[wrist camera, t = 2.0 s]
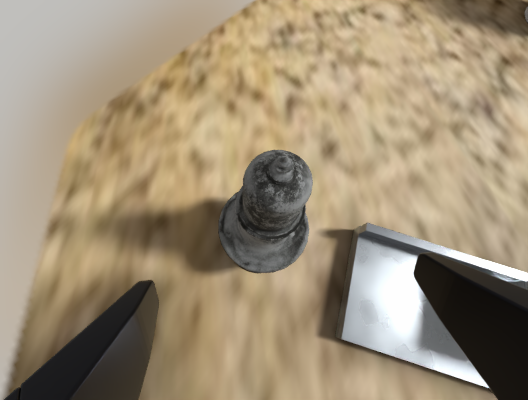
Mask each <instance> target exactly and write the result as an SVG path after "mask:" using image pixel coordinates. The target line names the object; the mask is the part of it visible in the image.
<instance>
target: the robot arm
mask: <svg viewBox="0 0 528 400" xmlns="http://www.w3.org/2000/svg"><path fill="white" fill-rule="evenodd" d="M413 274H414V278H415V280H416V282H417V283H418V285H419V287H420V288H421V290H422V291H423V293H424V295H425V296H426V298H427V300H428V301H429V303H430V305H431V306H432V308H433V310H434V311H435V313H436V315H437V316H438V318H439V319H440V321H441V322H442V324H443V325H444V326H445V328H446V329H447V330H448V332H449V333H450V335H451V336H452V337H453V339H454V340H455V341H456V343H457V344H458V346H459V347H460V348H461V350H462V351H463V352H464V354H465V355H466V357H467V358H468V359H469V361H470V362H471V363H472V365H473V366H474V367H475V369H476V370H477V372H478V373H479V374H480V376H481V377H482V378H483V380H484V381H485V383H486V384H487V385H488V387H489V388H490V389H491V391H492V392H493V394H494V395H495V396H496V398H497V399H498V400H528V290H527V289H524V288H522V287H519V286H517V285H514V284H512V283H509V282H506V281H504V280H501V279H499V278H496V277H494V276H491V275H489V274H486V273H484V272H481V271H479V270H476V269H473V268H471V267H468V266H466V265H463V264H461V263H458V262H456V261H453V260H451V259H448V258H445V257H443V256H440V255H438V254H435V253H432V252H428V253H421V254H419V255H418V257H417V261H416V264H415V268H414V271H413ZM158 307H159V300H158V296H157V292H156V287H155V284H154V282H153V281H152V280H146V281H139V282H138V283H136V284H135V285H134V286H133V287H132V288H131V289H129V290H128V291H127V292H126V293H125V294H124V295H123V296H121V297H120V298H119V299H118V300H117V301H116V302H115V303H113V304H112V305H111V306H110V307H109V308H108V309H107V310H105V311H104V312H103V313H102V314H101V315H100V316H99V317H98V318H96V319H95V320H94V321H93V322H92V323H91V324H90V325H88V326H87V327H86V328H85V329H84V330H83V331H82V332H80V333H79V334H78V335H77V336H76V337H75V338H74V339H72V340H71V341H70V342H69V343H68V344H67V345H66V346H65V347H63V348H62V349H61V350H60V351H59V352H58V353H57V354H55V355H54V356H53V357H52V358H51V359H50V360H49V361H47V362H46V363H45V364H44V365H43V366H42V367H41V368H39V369H38V370H37V371H36V372H35V373H34V374H33V375H32V376H30V377H29V378H28V379H27V380H26V381H25V382H24V383H22V385H21V388H17V389H15V390H14V391H13V392H12V393H11V394H10V395H9V396H7V397H6V398H5V399H4V400H138V399H139V395H140V392H141V388H142V385H143V381H144V377H145V374H146V370H147V367H148V363H149V359H150V354H151V349H152V343H153V337H154V331H155V325H156V319H157V313H158Z"/></svg>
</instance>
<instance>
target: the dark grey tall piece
mask: <svg viewBox="0 0 528 400" xmlns="http://www.w3.org/2000/svg"><path fill="white" fill-rule="evenodd" d="M312 184H313V180H312V174H311V171H310V169H309V167H308V165H307V164H306V163H305V162H304V160H302V159H301V158H300V157H299V156H297V155H295V154H293V153H291V152H288V151H284V150H271V151H267V152H264V153H262V154H260V155H258V156H257V157H256V158H255V159H253V160H252V161H251V163H250V164H249V166H248V167H247V169H246V171H245V174H244V178H243V186H242V187H241V189H240V191H239V192H237V193H235V194H234V195H233V196H232V197H231V198H230V199H229V200H228V201H227V203H226V205H225V206H224V208H223V209H222V212H221V215H220V219H219V236H220V240H221V244H222V246H223V248H224V250H225V251H226V253H227V255H228V256H229V257H230V258H231V259H232V260H233V261H234V262H235V263H236V264H238V265H239V266H240V267H242V268H243V269H245V270H247V271H250V272H254V273H270V272H275V271H278V270H282V269H285V268H286V267H288V266H289V265H290V264H292V263H293V262H295V261H296V260H297V258H298V257H299V256H300V255H301V254H302V252H303V250H304V248H305V246H306V244H307V241H308V234H309V225H308V218H307V216H306V213H305V210H306V206H305V204H306V202H307V201H308V199H309V197H310V195H311V191H312Z"/></svg>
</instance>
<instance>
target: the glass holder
mask: <svg viewBox="0 0 528 400" xmlns="http://www.w3.org/2000/svg"><path fill="white" fill-rule="evenodd" d="M525 18H526V21H527V22H528V7H527V8H526V10H525Z"/></svg>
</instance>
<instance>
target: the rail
mask: <svg viewBox="0 0 528 400" xmlns="http://www.w3.org/2000/svg"><path fill="white" fill-rule="evenodd" d="M428 252H432V253H435V254H438V255H440V256H443V257H445V258H448V259H451V260H453V261H456V262H458V263H461V264H463V265H466V266H468V267H471V268H473V269H476V270H479V271H481V272H484V273H486V274H489V275H491V276H494V277H496V278H499V279H501V280H504V281H506V282H509V283H512V284H514V285H517V286H519V287H522V288H524V289H527V290H528V273H525V272H522V271H519V270H516V269H512V268H509V267H506V266H503V265H500V264H497V263H493V262H490V261H487V260H484V259H481V258H478V257H474V256H471V255H468V254H465V253H462V252H459V251H455V250H452V249H449V248H446V247H443V246H440V245H436V244H433V243H430V242H427V241H424V240H421V239H417V238H414V237H411V236H408V235H405V234H402V233H398V232H395V231H392V230H389V229H386V228H383V227H379V226H376V225H373V224H370V223H366V224H364V225H363V226H359V227H357V228H356V229H354V231H353V237H352V243H351V248H350V254H349V260H348V266H347V271H346V277H345V283H344V289H343V294H342V300H341V306H340V312H339V317H338V323H337V329H336V335H335V337H338V338H340V339H343V340H346V341H349V342H352V343H355V344H358V345H361V346H364V347H367V348H370V349H373V350H376V351H379V352H382V353H385V354H388V355H391V356H394V357H397V358H400V359H403V360H406V361H409V362H412V363H415V364H418V365H421V366H424V367H427V368H430V369H433V370H436V371H439V372H442V373H445V374H448V375H451V376H454V377H457V378H460V379H463V380H466V381H469V382H472V383H475V384H478V385H481V386H484V387H487V388H489V387H488V385H487V384H486V383H485V381H484V380H483V378H482V377H481V376H480V374H479V373H478V372H477V370H476V369H475V367H474V366H473V365H472V363H471V362H470V361H469V359H468V358H467V357H466V355H465V354H464V352H463V351H462V350H461V348H460V347H459V346H458V344H457V343H456V341H455V340H454V339H453V337H452V336H451V335H450V333H449V332H448V330H447V329H446V328H445V326H444V325H443V324H442V322H441V321H440V319H439V318H438V316H437V315H436V313H435V311H434V310H433V308H432V306H431V305H430V303H429V301H428V300H427V298H426V296H425V295H424V293H423V291H422V290H421V288H420V287H419V285H418V283H417V282H416V280H415V278H414V274H413V271H414V268H415V264H416V261H417V257H418V255H419V254H421V253H428Z"/></svg>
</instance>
